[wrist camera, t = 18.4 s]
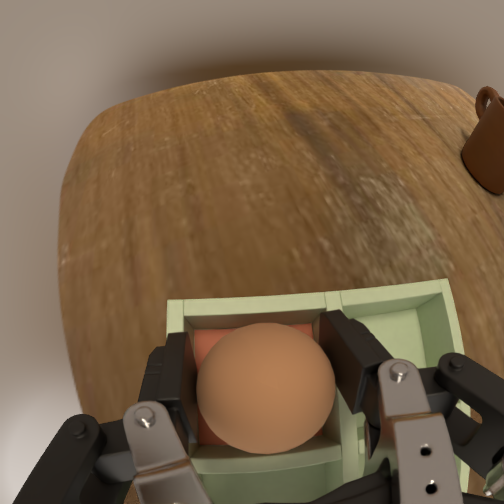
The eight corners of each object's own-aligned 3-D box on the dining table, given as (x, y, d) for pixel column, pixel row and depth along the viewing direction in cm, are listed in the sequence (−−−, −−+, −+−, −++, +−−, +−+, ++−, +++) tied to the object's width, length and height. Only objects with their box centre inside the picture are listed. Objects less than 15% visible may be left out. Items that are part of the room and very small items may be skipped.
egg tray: (200, 550, 9) (193, 578, 5) (181, 318, 16) (167, 299, 12) (434, 499, 10) (464, 509, 6) (418, 298, 17) (447, 277, 13)
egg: (218, 443, 12) (197, 496, 5) (199, 350, 14) (160, 309, 7) (316, 421, 12) (390, 445, 5) (294, 332, 15) (344, 275, 8)
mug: (440, 120, 28) (466, 67, 20) (477, 137, 28) (505, 91, 19) (472, 187, 22) (517, 127, 14) (510, 202, 22) (552, 154, 14)
